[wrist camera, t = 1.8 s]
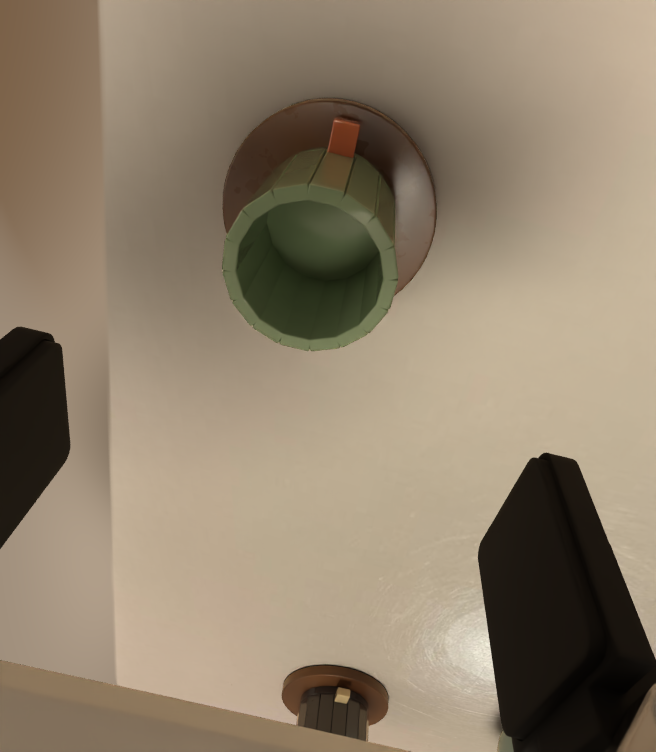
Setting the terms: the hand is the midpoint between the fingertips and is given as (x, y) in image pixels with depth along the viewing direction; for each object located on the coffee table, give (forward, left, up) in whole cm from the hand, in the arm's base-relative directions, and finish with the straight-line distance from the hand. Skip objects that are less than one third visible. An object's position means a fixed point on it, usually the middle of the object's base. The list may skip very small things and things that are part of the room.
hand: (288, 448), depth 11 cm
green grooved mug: (-1, 0, -15) cm, 15 cm away
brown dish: (-1, 0, -15) cm, 15 cm away
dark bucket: (+8, -40, -15) cm, 44 cm away
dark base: (+8, -40, -15) cm, 44 cm away
